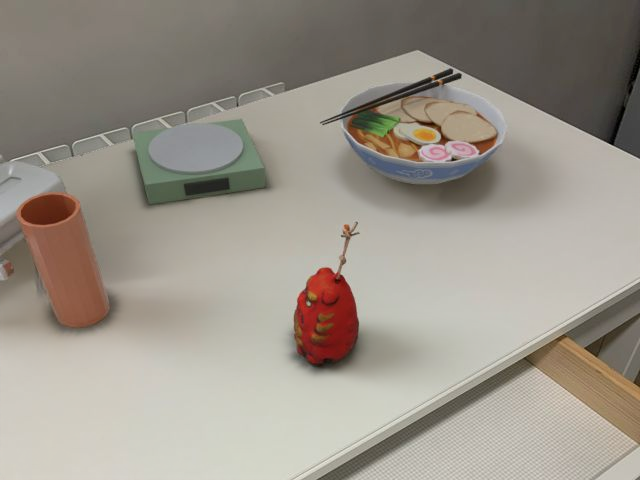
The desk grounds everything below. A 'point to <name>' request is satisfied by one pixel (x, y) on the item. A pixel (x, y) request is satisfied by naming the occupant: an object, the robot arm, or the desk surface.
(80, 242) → the cup
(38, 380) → the desk surface
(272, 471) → the desk surface
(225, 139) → the scale
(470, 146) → the ramen bowl
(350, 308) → the red clay folk toy
